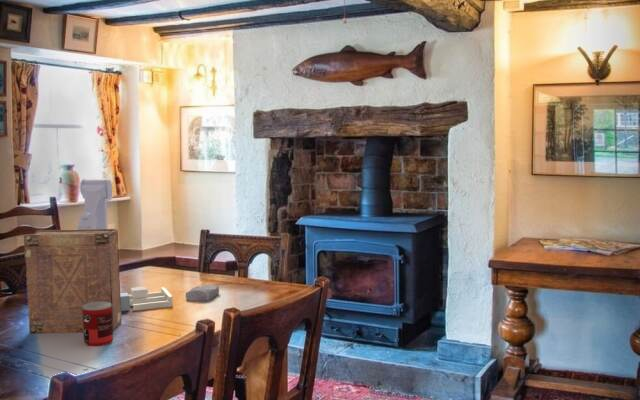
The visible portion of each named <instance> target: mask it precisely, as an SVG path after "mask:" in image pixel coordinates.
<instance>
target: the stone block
mask: <svg viewBox="0 0 640 400" xmlns="http://www.w3.org/2000/svg"><path fill="white" fill-rule="evenodd" d="M219 293H220V287H219V285H210V284H209V285H208V284H203V285H201V286H199V285H198V286H195V287H193V288H192V289H190V290H189V291H187V292H185V298H186V300H187V301H189V302H190V301H191V302H192V301H193V302H209V301H211V300H212V299H214V298H215V297H216V296H218V295H219Z"/></svg>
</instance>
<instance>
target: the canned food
mask: <svg viewBox="0 0 640 400" xmlns="http://www.w3.org/2000/svg"><path fill="white" fill-rule="evenodd" d="M82 310H83V329H84V332H83V341H84V344H85V345H87V346H89V347H100V346H105V345H106V346H107V345H109V344H112V342H113V341H114V330H113V325H112V305H111V303H110V302H104V301H99V302H91V303H87V304H84V305H83V308H82Z"/></svg>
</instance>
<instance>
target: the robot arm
mask: <svg viewBox="0 0 640 400" xmlns="http://www.w3.org/2000/svg"><path fill="white" fill-rule="evenodd" d="M112 185H113V184H112V181H111V179H110V178H108V177H107V178H86V179H85V178H82V179H81V181H80V183H79V189H80V190H79V192H80V194H81V196H82V198H83V199H84V205H83V214H81V215H79V218H78V222H77V228H76V230H90V229H109V228H108V225H109V224H108V202H109V201H111V200H112V198H113V187H112Z"/></svg>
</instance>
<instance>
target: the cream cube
mask: <svg viewBox="0 0 640 400" xmlns="http://www.w3.org/2000/svg"><path fill="white" fill-rule="evenodd" d="M148 293H149V292H148V288H147V287H146V286H137V287H131V288H130V295H131V300H132V299H141V298H148Z"/></svg>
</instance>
